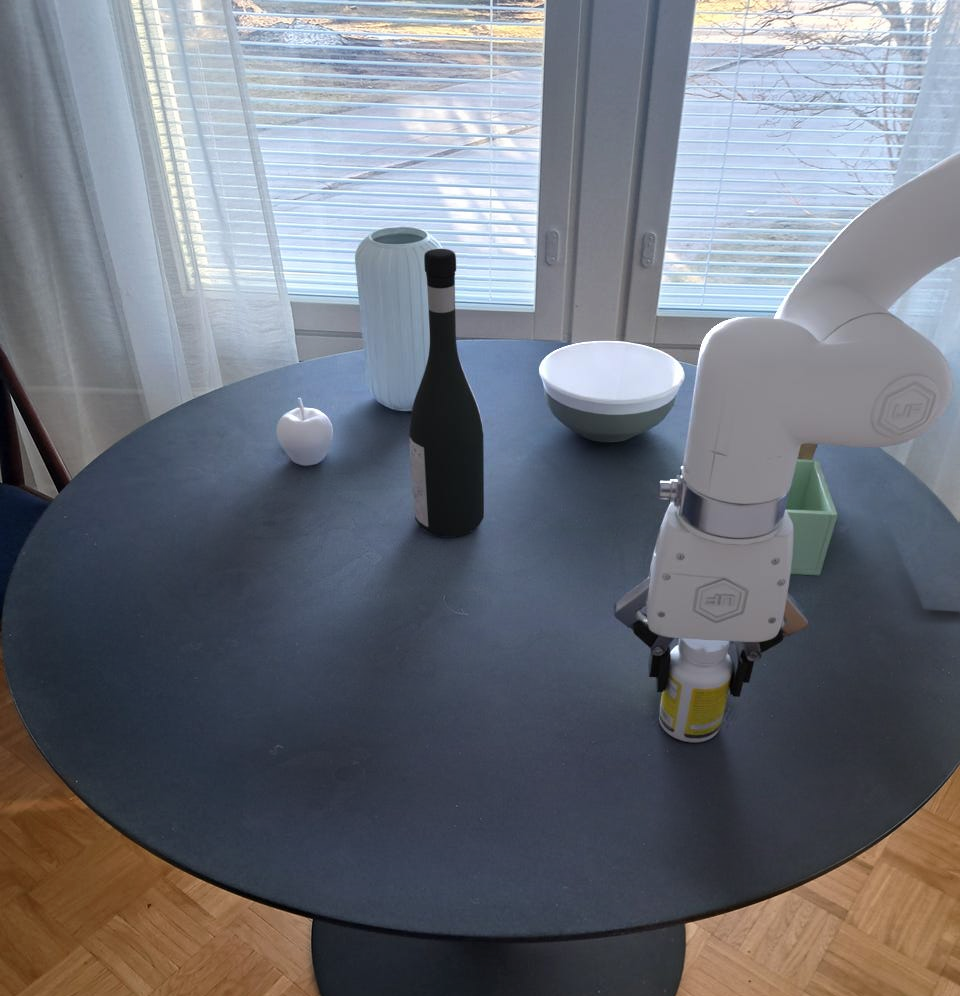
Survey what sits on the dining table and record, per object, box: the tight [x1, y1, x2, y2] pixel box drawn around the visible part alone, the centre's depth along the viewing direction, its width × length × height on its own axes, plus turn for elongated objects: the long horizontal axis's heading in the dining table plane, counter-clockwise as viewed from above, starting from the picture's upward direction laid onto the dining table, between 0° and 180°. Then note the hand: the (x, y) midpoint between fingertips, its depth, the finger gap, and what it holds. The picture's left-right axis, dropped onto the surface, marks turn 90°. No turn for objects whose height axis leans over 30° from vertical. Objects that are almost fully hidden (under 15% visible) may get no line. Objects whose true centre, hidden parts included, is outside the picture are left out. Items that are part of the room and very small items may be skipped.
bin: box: [785, 459, 838, 576], centre depth 98 cm, size 11×11×8 cm
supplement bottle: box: [658, 638, 733, 743], centre depth 76 cm, size 5×5×10 cm
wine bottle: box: [408, 248, 485, 538], centre depth 94 cm, size 8×8×30 cm
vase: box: [354, 225, 443, 412], centre depth 121 cm, size 12×12×22 cm
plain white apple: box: [275, 397, 334, 466], centre depth 113 cm, size 7×7×8 cm
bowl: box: [538, 340, 686, 443], centre depth 119 cm, size 19×19×8 cm
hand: (696, 681), depth 76 cm, fingers closed on supplement bottle, 5 cm apart
